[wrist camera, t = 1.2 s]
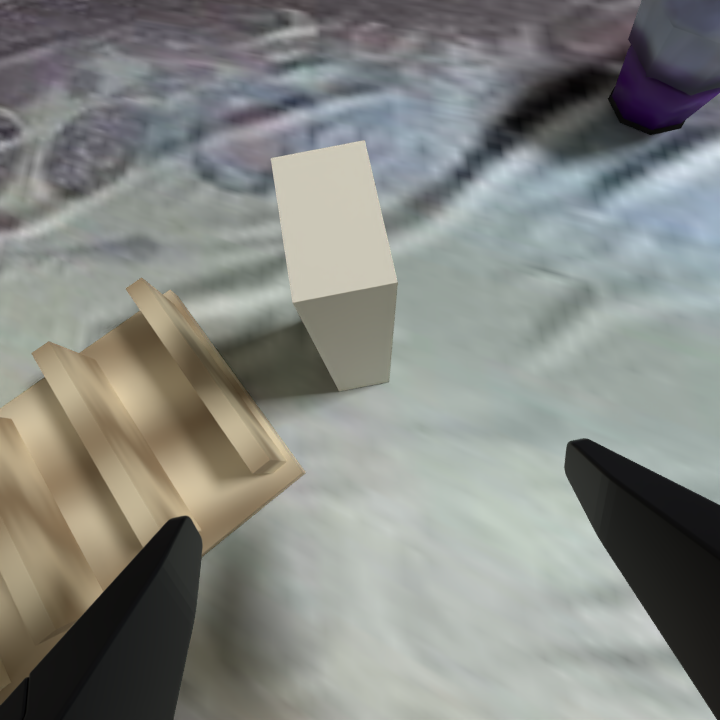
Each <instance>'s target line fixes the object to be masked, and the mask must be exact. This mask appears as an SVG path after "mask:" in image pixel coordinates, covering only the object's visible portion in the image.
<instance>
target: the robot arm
mask: <svg viewBox="0 0 720 720" xmlns="http://www.w3.org/2000/svg"><path fill="white" fill-rule="evenodd" d="M564 468H565V473H566V476H567V478H568V480H569V482H570V484H571V486H572V488H573V490H574V492H575V494H576V496H577V498H578V500H579V501H580V503H581V505H582V507H583V509H584V511H585V513H586V515H587V517H588V519H589V521H590V523H591V525H592V527H593V529H594V530H595V532H596V534H597V536H598V538H599V539H600V541H601V542H602V544H603V546H604V547H605V549H606V550H607V552H608V553H609V555H610V556H611V558H612V559H613V561H614V563H615V564H616V566H617V567H618V569H619V570H620V572H621V573H622V575H623V576H624V578H625V579H626V581H627V582H628V584H629V586H630V587H631V589H632V590H633V592H634V593H635V595H636V596H637V598H638V599H639V601H640V602H641V604H642V605H643V607H644V609H645V610H646V612H647V613H648V615H649V616H650V618H651V619H652V621H653V622H654V624H655V625H656V627H657V628H658V630H659V631H660V633H661V635H662V636H663V638H664V639H665V641H666V642H667V644H668V645H669V647H670V648H671V650H672V651H673V653H674V654H675V656H676V658H677V659H678V661H679V662H680V664H681V665H682V667H683V668H684V670H685V671H686V673H687V674H688V676H689V677H690V679H691V680H692V682H693V684H694V685H695V687H696V688H697V690H698V691H699V693H700V694H701V696H702V697H703V699H704V700H705V702H706V703H707V705H708V707H709V708H710V710H711V711H712V713H713V714H714V716H715V717H716V719H717V720H720V505H719V504H717V503H715V502H713V501H711V500H709V499H707V498H705V497H703V496H701V495H699V494H697V493H695V492H693V491H691V490H689V489H687V488H685V487H683V486H681V485H679V484H677V483H675V482H673V481H671V480H669V479H667V478H665V477H663V476H661V475H659V474H657V473H655V472H653V471H651V470H649V469H647V468H645V467H643V466H641V465H639V464H637V463H635V462H633V461H631V460H629V459H627V458H625V457H623V456H621V455H619V454H617V453H615V452H613V451H611V450H609V449H607V448H605V447H603V446H601V445H599V444H597V443H595V442H593V441H591V440H589V439H586V438H583V439H578V440H573V441H570V442H568V444H567V447H566V456H565V465H564ZM202 549H203V543H202V538H201V536H200V534H199V532H198V530H197V528H196V527H195V525H194V523H193V521H192V519H191V518H190V517H189V516H186V515H185V516H180V517H174V518H171V519H169V520H168V521H167V522H166V523H165V524H164V525H163V526H162V527H161V529H160V530H159V531H158V532H157V533H156V534H155V535H154V536H153V537H152V538H151V540H150V541H149V542H148V543H147V544H146V545H145V546H144V547H143V548H142V550H141V551H140V552H139V553H138V554H137V555H136V556H135V557H134V558H133V559H132V561H131V562H130V563H129V564H128V565H127V566H126V567H125V568H124V569H123V570H122V572H121V573H120V574H119V575H118V576H117V577H116V578H115V579H114V580H113V582H112V583H111V584H110V585H109V586H108V587H107V588H106V589H105V590H104V591H103V593H102V594H101V595H100V596H99V597H98V598H97V599H96V600H95V601H94V603H93V604H92V605H91V606H90V607H89V608H88V609H87V610H86V611H85V612H84V614H83V615H82V616H81V617H80V618H79V619H78V620H77V621H76V622H75V623H74V625H73V626H72V627H71V628H70V629H69V630H68V631H67V632H66V633H65V635H64V636H63V637H62V638H61V639H60V640H59V641H58V642H57V643H56V644H55V646H54V647H53V648H52V649H51V650H50V651H49V652H48V653H47V654H46V655H45V657H44V658H43V659H42V660H41V661H40V662H39V663H38V664H37V665H36V667H35V668H34V669H33V670H32V671H31V672H30V674H29V677H26V678H24V680H23V681H22V682H21V683H20V684H19V685H18V686H17V687H16V688H15V690H14V691H13V692H12V693H11V694H10V695H9V696H8V697H7V698H6V699H5V700H4V702H3V703H2V704H1V705H0V720H173V719H174V714H175V709H176V704H177V700H178V695H179V690H180V685H181V681H182V676H183V671H184V667H185V662H186V657H187V652H188V648H189V643H190V638H191V633H192V629H193V624H194V618H195V612H196V605H197V596H198V586H199V577H200V568H201V558H202Z"/></svg>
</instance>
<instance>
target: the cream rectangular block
mask: <svg viewBox="0 0 720 720" xmlns="http://www.w3.org/2000/svg"><path fill="white" fill-rule="evenodd" d="M271 162H272V169H273V176H274V182H275V189H276V196H277V202H278V209H279V215H280V222H281V229H282V235H283V242H284V249H285V255H286V262H287V268H288V275H289V282H290V288H291V295H292V302H293V304H294V306H295V308H296V310H297V312H298V314H299V316H300V318H301V319H302V321H303V323H304V325H305V327H306V329H307V331H308V333H309V335H310V337H311V339H312V340H313V342H314V344H315V346H316V348H317V350H318V352H319V354H320V356H321V358H322V360H323V361H324V363H325V365H326V367H327V369H328V371H329V373H330V375H331V377H332V379H333V380H334V382H335V384H336V386H337V388H338V390H339V391H344V390H350V389H355V388H360V387H365V386H370V385H375V384H381V383H386V382H389V378H390V366H391V355H392V343H393V331H394V320H395V308H396V297H397V285H398V282H397V277H396V273H395V269H394V264H393V260H392V256H391V251H390V247H389V243H388V238H387V234H386V230H385V226H384V221H383V217H382V213H381V208H380V204H379V200H378V195H377V191H376V187H375V183H374V178H373V174H372V170H371V165H370V161H369V157H368V152H367V148H366V144H365V140H364V141H359V142H353V143H348V144H343V145H338V146H333V147H327V148H322V149H317V150H312V151H307V152H301V153H296V154H291V155H286V156H281V157H275V158H271Z"/></svg>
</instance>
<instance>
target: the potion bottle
mask: <svg viewBox="0 0 720 720" xmlns="http://www.w3.org/2000/svg"><path fill="white" fill-rule="evenodd" d="M628 40H629V42H630V43H631V46H630V48H629V49H628V52H627V55H626V58H625V60H624V63H623V66H622V69H621V72H620V75H619V78H618V80H617V83H616V86H615V88H614V89H613V91H612V93H611V94H610V96H609V98H608V100H609V102H610V104H611V106H612V108H613V110H614V112H615V114H616V116H617V117H618V119H619V121H620V123H623V124H625V125H628V126H630V127H633V128H635V129H637V130H640V131H642V132H645V133H647V134H649V135H652V134H657V133H661V132H666V131H670V130H675V129H679V128H681V127H682V125H683V124H684V122H685V120H686V119H687V118H688V117H690V116H691V115H692V114H693V113H695V112H696V111H697V110H698V109H700V108H701V107H702V106H704V105H705V104H706V103H707V102H709V101H710V100H711V99H712V98H714V97H715V96H716V95H718V94H719V93H720V0H642V1H641V4H640V7H639V10H638V13H637V16H636V18H635V21H634V24H633V27H632V30H631V33H630V36H629V39H628Z"/></svg>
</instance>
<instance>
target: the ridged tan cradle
mask: <svg viewBox="0 0 720 720" xmlns="http://www.w3.org/2000/svg"><path fill="white" fill-rule="evenodd" d="M126 290H127V292H128V293H129V294H130V296H131V297H132V299H133V300H134V302H135V303H136V305H137V306H138V308H139V309H140V311H139V312H137V313H136V314H135V315H133V316H132V317H130V318H129V319H127V320H126V321H125V322H123V323H122V324H120V325H119V326H117V327H116V328H115V329H113V330H112V331H110V332H109V333H107V334H106V335H105V336H103V337H102V338H100V339H99V340H97V341H96V342H95V343H93V344H92V345H90V346H89V347H87V348H86V349H84V350H83V351H82V352H80V353H77V352H74V351H72V350H69V349H67V348H64V347H62V346H59V345H57V344H54V343H51V342H47V343H46V344H44V345H43V346H41V347H40V348H38V349H37V350H36V351H34V352H33V353H32V355H33V357H34V359H35V360H36V362H37V364H38V366H39V367H40V369H41V371H42V373H43V374H44V376H45V377H44V378H43V379H42V380H40V381H39V382H37V383H36V384H34V385H33V386H32V387H30V388H29V389H27V390H26V391H24V392H23V393H22V394H20V395H19V396H17V397H16V398H14V399H13V400H12V401H10V402H9V403H7V404H6V405H4V406H3V407H2V408H0V705H1V704H2V703H3V702H4V700H5V699H6V698H7V697H8V696H9V695H10V694H11V693H12V692H13V691H14V690H15V688H16V687H17V686H18V685H19V684H20V683H21V682H22V681H23V680H24V678H26V677H29V674H30V672H31V671H32V670H33V669H34V668H35V667H36V665H37V664H38V663H39V662H40V661H41V660H42V659H43V658H44V657H45V655H46V654H47V653H48V652H49V651H50V650H51V649H52V648H53V647H54V646H55V644H56V643H57V642H58V641H59V640H60V639H61V638H62V637H63V636H64V635H65V633H66V632H67V631H68V630H69V629H70V628H71V627H72V626H73V625H74V623H75V622H76V621H77V620H78V619H79V618H80V617H81V616H82V615H83V614H84V612H85V611H86V610H87V609H88V608H89V607H90V606H91V605H92V604H93V603H94V601H95V600H96V599H97V598H98V597H99V596H100V595H101V594H102V593H103V591H104V590H105V589H106V588H107V587H108V586H109V585H110V584H111V583H112V582H113V580H114V579H115V578H116V577H117V576H118V575H119V574H120V573H121V572H122V570H123V569H124V568H125V567H126V566H127V565H128V564H129V563H130V562H131V561H132V559H133V558H134V557H135V556H136V555H137V554H138V553H139V552H140V551H141V550H142V548H143V547H144V546H145V545H146V544H147V543H148V542H149V541H150V540H151V538H152V537H153V536H154V535H155V534H156V533H157V532H158V531H159V530H160V529H161V527H162V526H163V525H164V524H165V523H166V522H167V521H168V520H169V519H171V518H174V517H180V516H185V515H186V516H189V517H190V518H191V519H192V521H193V523H194V525H195V527H196V528H197V530H198V532H199V534H200V536H201V538H202V543H203V549H202V557H203V556H204V555H205V554H206V553H208V552H209V551H210V550H211V549H213V548H214V547H215V546H216V545H218V544H219V543H220V542H221V541H222V540H224V539H225V538H226V537H227V536H229V535H230V534H231V533H232V532H234V531H235V530H236V529H237V528H239V527H240V526H241V525H242V524H243V523H245V522H246V521H247V520H248V519H250V518H251V517H252V516H253V515H255V514H256V513H257V512H258V511H260V510H261V509H262V508H263V507H264V506H266V505H267V504H268V503H269V502H271V501H272V500H273V499H274V498H276V497H277V496H278V495H279V494H281V493H282V492H283V491H284V490H285V489H287V488H288V487H289V486H290V485H292V484H293V483H294V482H295V481H297V480H298V479H299V478H300V477H302V476H303V475H304V474H305V473H306V472H305V471H304V470H303V468H302V467H301V465H300V464H299V463H298V461H297V460H296V459H295V457H294V456H293V454H292V453H291V452H290V450H289V449H288V447H287V446H286V445H285V443H284V442H283V441H282V439H281V438H280V436H279V435H278V434H277V432H276V431H275V430H274V428H273V427H272V425H271V424H270V423H269V421H268V420H267V419H266V417H265V416H264V414H263V413H262V412H261V410H260V409H259V408H258V406H257V405H256V403H255V402H254V401H253V399H252V398H251V396H250V395H249V394H248V392H247V391H246V390H245V388H244V387H243V385H242V384H241V383H240V381H239V380H238V379H237V377H236V376H235V374H234V373H233V372H232V370H231V369H230V368H229V366H228V365H227V363H226V362H225V361H224V359H223V358H222V357H221V355H220V354H219V352H218V351H217V350H216V348H215V347H214V345H213V344H212V343H211V341H210V340H209V339H208V337H207V336H206V334H205V333H204V332H203V330H202V329H201V328H200V326H199V325H198V323H197V322H196V321H195V319H194V318H193V317H192V315H191V314H190V312H189V311H188V310H187V308H186V307H185V306H184V304H183V303H182V301H181V300H180V299H179V297H178V296H177V295H176V294H175V293H173V292H172V291H171V290H169V291H167V292H166V293H165V294H161V293H160V292H159V291H158V290H156V289H155V288H154V287H153V286H151V285H150V284H149V283H148V282H146V281H145V280H144V279H143V278H140V279H139V280H137V281H136V282H135V283H133V284H132V285H130V286H129V287H127V288H126Z"/></svg>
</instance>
